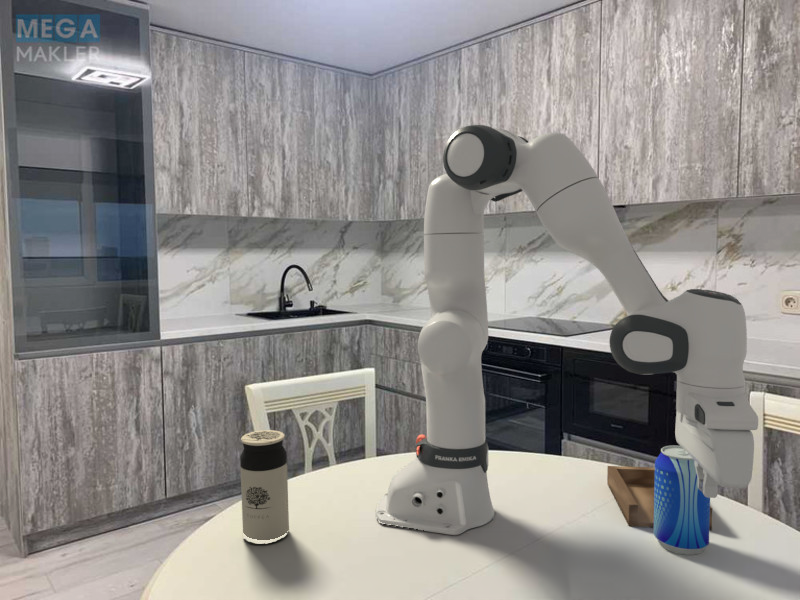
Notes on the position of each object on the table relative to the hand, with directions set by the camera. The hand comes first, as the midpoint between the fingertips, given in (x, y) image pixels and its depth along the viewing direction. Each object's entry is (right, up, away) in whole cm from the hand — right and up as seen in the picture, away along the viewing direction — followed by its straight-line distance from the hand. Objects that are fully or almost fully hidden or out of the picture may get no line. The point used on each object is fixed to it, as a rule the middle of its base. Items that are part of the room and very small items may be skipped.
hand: (707, 493), depth 87 cm
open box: (+4, -11, +27) cm, 30 cm away
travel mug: (-69, -14, +18) cm, 73 cm away
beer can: (+2, -13, +12) cm, 18 cm away
